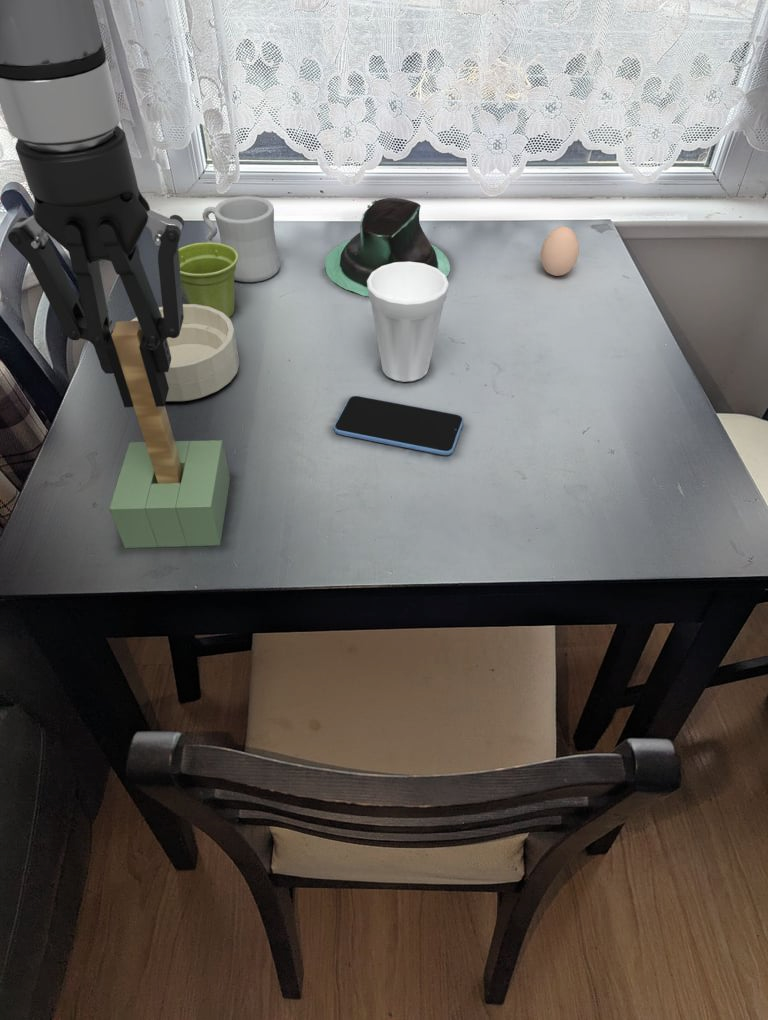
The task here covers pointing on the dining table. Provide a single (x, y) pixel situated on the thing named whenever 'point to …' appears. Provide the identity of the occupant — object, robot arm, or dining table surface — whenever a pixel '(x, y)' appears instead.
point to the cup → (406, 316)
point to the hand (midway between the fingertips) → (147, 397)
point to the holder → (172, 498)
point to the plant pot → (209, 275)
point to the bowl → (201, 354)
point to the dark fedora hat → (383, 245)
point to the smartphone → (399, 425)
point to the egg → (560, 251)
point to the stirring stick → (146, 404)
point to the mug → (247, 235)
